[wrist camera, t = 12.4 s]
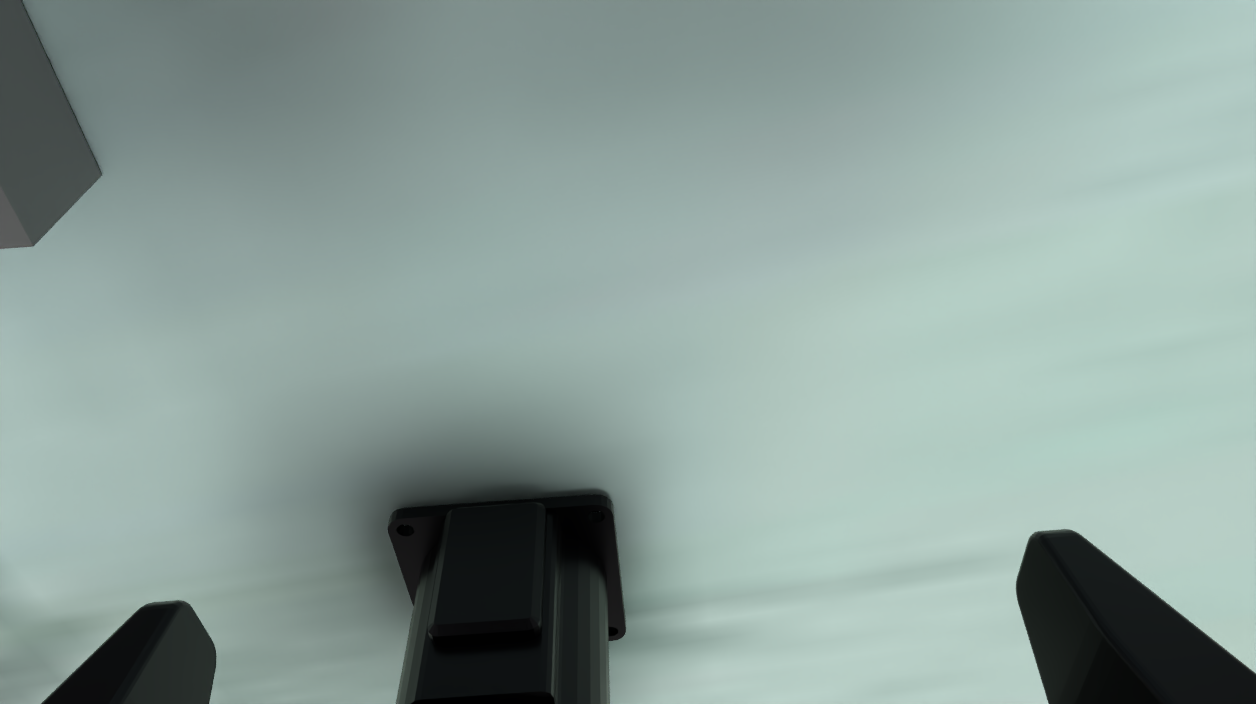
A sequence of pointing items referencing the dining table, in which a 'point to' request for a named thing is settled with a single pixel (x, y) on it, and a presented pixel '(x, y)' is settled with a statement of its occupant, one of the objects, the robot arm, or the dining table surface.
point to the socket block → (35, 137)
